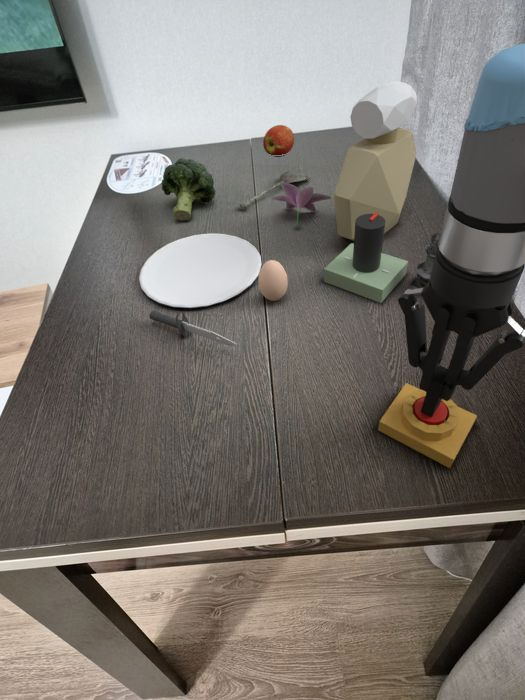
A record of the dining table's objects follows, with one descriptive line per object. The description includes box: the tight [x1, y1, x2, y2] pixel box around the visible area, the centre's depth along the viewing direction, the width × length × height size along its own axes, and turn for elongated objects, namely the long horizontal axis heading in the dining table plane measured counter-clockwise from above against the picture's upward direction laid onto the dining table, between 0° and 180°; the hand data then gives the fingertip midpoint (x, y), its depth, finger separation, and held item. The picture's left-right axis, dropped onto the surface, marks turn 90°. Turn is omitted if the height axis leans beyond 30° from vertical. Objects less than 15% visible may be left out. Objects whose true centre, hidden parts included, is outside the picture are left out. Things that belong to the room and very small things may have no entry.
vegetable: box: [161, 157, 216, 222], centre depth 105 cm, size 12×13×15 cm
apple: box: [262, 124, 295, 158], centre depth 122 cm, size 8×8×8 cm
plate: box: [138, 233, 263, 309], centre depth 89 cm, size 25×25×1 cm
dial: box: [352, 213, 385, 273], centre depth 78 cm, size 5×5×9 cm
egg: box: [257, 259, 289, 302], centre depth 78 cm, size 5×5×8 cm
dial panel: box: [323, 242, 409, 304], centre depth 82 cm, size 12×10×3 cm
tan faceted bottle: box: [333, 80, 418, 242], centre depth 84 cm, size 12×24×28 cm, turn 137°
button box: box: [377, 382, 478, 469], centre depth 58 cm, size 10×8×4 cm
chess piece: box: [413, 227, 442, 289], centre depth 76 cm, size 6×6×12 cm
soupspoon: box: [238, 170, 308, 211], centre depth 109 cm, size 22×3×7 cm
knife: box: [148, 310, 239, 346], centre depth 74 cm, size 19×2×5 cm, turn 58°
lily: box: [271, 181, 332, 229], centre depth 97 cm, size 12×12×10 cm
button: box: [413, 397, 447, 425], centre depth 57 cm, size 4×4×2 cm
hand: (430, 407), depth 56 cm, fingers closed
